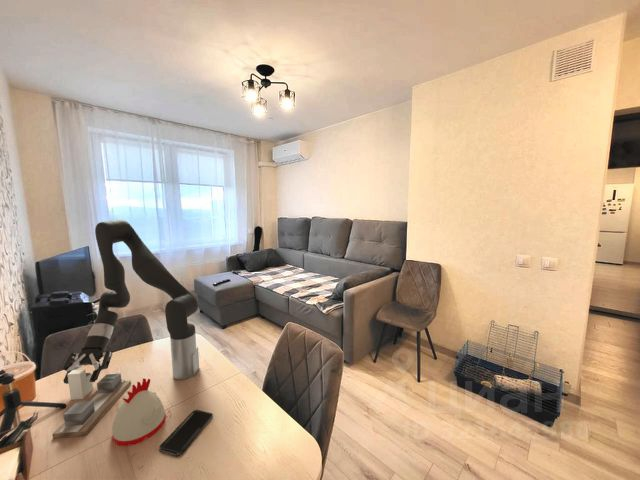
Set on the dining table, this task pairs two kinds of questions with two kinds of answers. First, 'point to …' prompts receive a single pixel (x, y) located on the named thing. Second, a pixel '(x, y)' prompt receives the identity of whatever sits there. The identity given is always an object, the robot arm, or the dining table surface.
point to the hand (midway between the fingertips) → (79, 382)
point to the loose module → (79, 383)
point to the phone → (185, 433)
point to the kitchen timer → (138, 416)
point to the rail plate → (96, 416)
